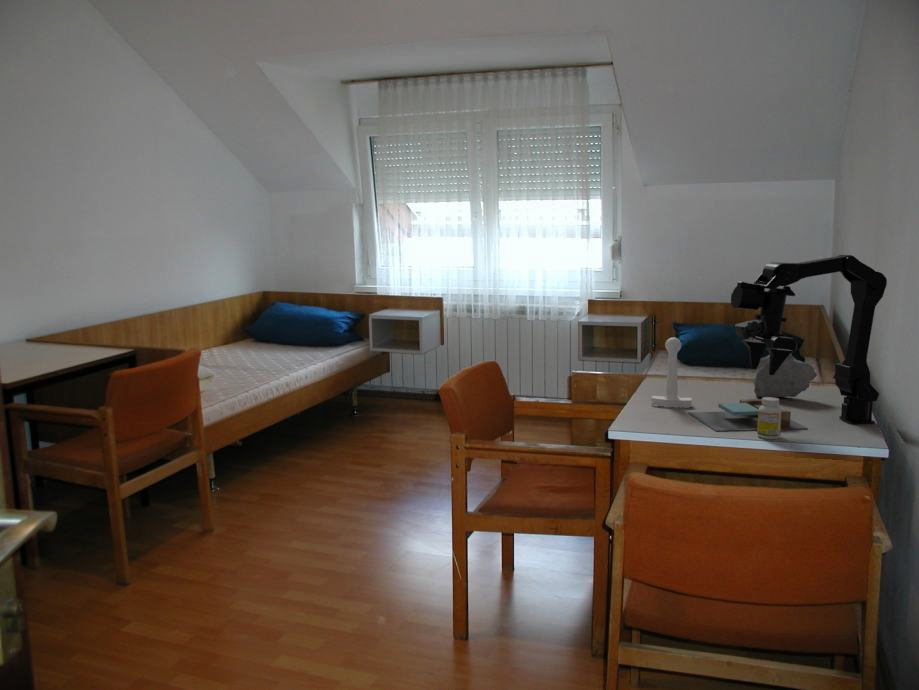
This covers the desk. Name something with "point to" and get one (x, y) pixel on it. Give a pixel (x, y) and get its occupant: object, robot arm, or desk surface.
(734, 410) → the trapdoor
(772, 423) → the supplement bottle
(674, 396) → the joystick
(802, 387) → the fossil
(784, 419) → the dark grey flat mat
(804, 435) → the desk surface
